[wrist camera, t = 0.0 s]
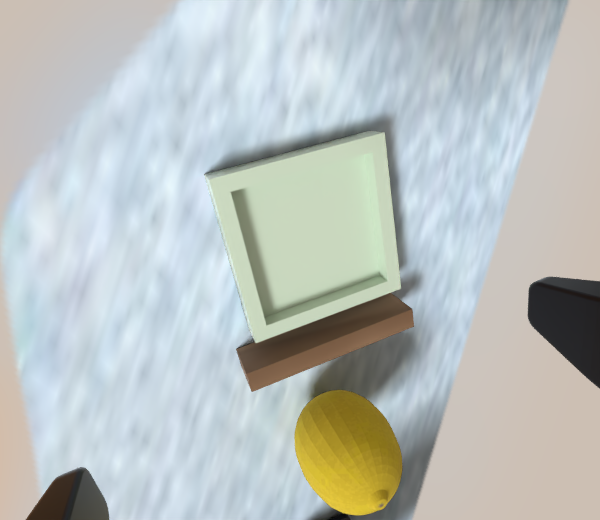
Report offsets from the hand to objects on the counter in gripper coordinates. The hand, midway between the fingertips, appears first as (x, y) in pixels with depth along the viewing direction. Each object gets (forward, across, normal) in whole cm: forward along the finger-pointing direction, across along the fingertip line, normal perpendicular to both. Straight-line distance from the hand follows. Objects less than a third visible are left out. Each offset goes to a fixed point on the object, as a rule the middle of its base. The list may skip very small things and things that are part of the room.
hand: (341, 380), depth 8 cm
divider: (+15, -4, +9) cm, 18 cm away
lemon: (+15, -3, +14) cm, 21 cm away
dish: (+15, -4, +3) cm, 16 cm away
